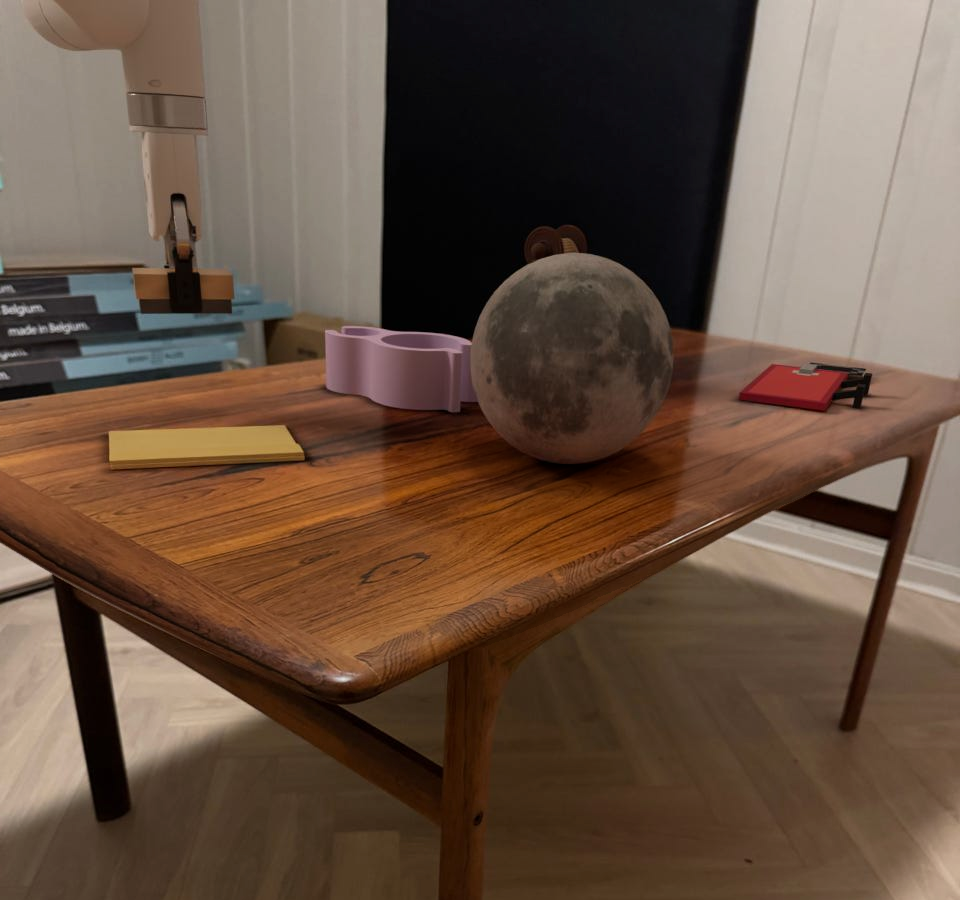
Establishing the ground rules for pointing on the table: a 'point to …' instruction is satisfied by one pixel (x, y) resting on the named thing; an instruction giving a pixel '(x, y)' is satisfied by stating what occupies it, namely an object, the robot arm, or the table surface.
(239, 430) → the flat yellow board
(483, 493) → the table surface
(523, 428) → the moon model
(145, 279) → the brush
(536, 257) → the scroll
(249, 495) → the table surface
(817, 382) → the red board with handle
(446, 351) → the pink curved hollow block
